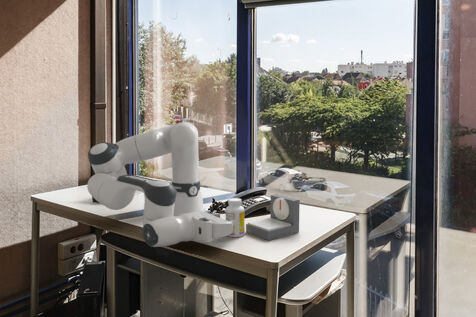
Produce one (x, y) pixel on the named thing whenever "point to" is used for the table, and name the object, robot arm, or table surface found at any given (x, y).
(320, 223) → the table surface
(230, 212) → the supplement bottle
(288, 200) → the dial scale
